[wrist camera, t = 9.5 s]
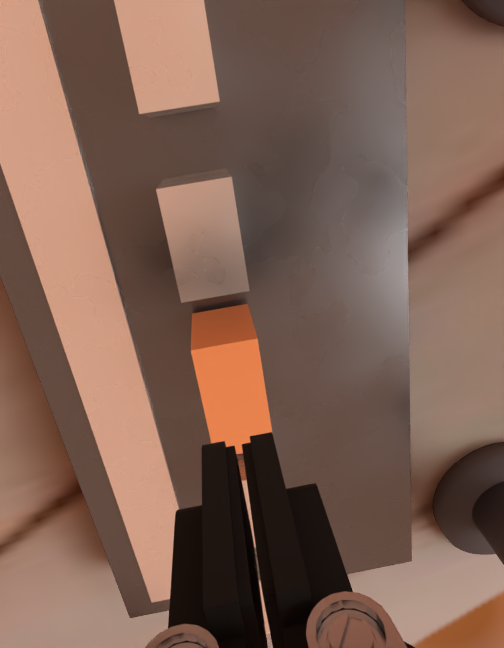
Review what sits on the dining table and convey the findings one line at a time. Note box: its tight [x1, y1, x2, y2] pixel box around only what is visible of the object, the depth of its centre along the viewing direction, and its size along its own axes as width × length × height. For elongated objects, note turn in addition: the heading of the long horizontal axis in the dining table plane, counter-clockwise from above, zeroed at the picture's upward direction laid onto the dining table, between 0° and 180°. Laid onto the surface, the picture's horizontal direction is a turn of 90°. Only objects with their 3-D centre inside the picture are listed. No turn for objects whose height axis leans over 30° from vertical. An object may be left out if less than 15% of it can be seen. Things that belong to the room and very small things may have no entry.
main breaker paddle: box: [191, 304, 273, 454], centre depth 16 cm, size 2×4×3 cm, turn 9°
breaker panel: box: [0, 0, 412, 634], centre depth 17 cm, size 14×26×6 cm, turn 9°
